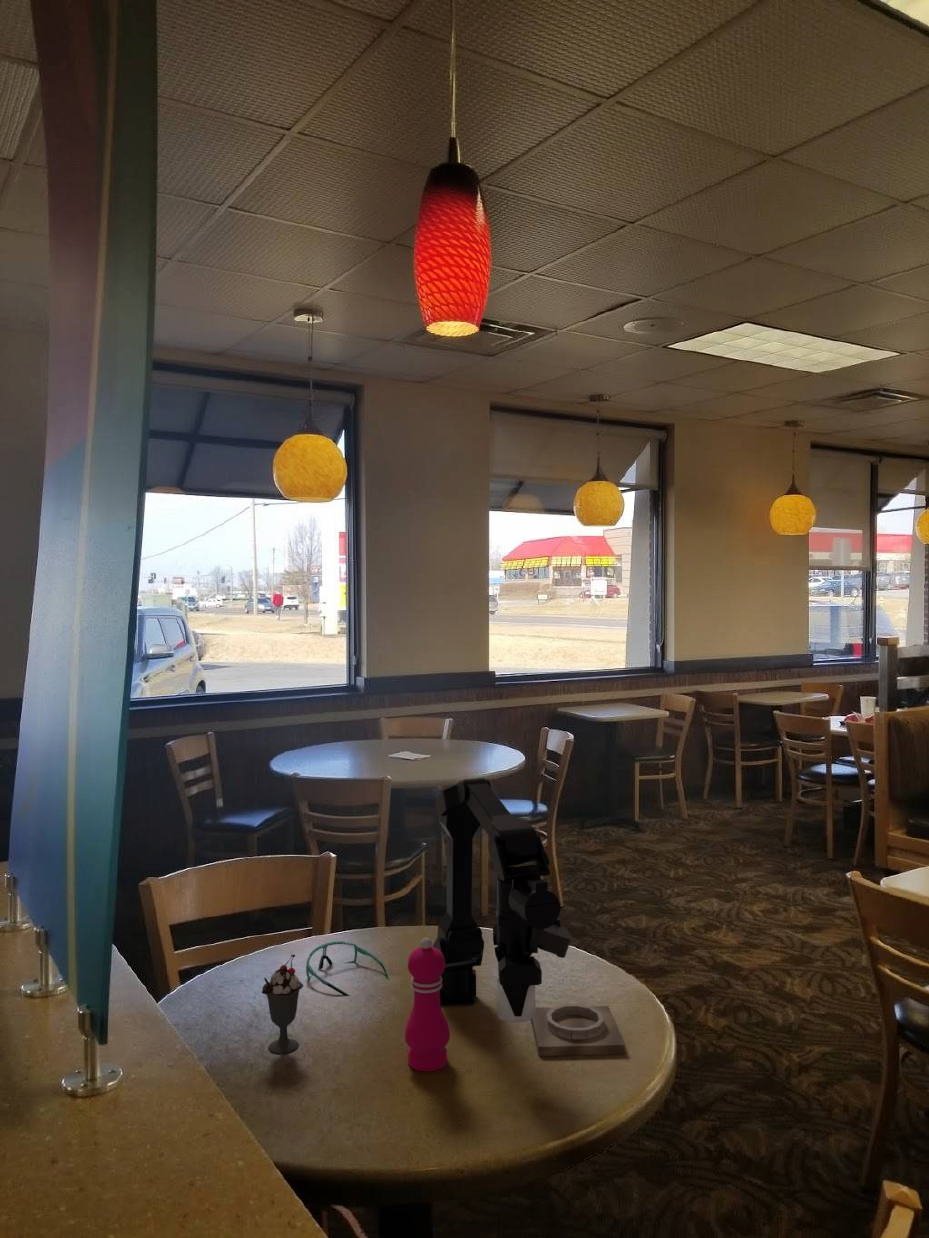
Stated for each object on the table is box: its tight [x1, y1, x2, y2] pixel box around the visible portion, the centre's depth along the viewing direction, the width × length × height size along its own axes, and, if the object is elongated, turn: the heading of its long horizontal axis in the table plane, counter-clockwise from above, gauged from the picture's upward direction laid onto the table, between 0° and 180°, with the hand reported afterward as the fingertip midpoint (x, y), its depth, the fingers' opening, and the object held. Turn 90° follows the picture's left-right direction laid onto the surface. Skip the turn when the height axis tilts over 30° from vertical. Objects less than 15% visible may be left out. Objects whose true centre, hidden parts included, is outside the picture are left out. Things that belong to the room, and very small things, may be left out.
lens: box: [496, 977, 537, 1023], centre depth 141 cm, size 6×6×5 cm
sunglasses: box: [305, 940, 390, 997], centre depth 178 cm, size 14×15×5 cm
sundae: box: [261, 954, 304, 1055], centre depth 150 cm, size 7×7×15 cm
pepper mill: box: [404, 937, 451, 1072], centre depth 144 cm, size 7×7×20 cm
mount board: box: [530, 1003, 626, 1057], centre depth 153 cm, size 14×14×3 cm
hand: (516, 1006), depth 141 cm, fingers closed on lens, 6 cm apart
